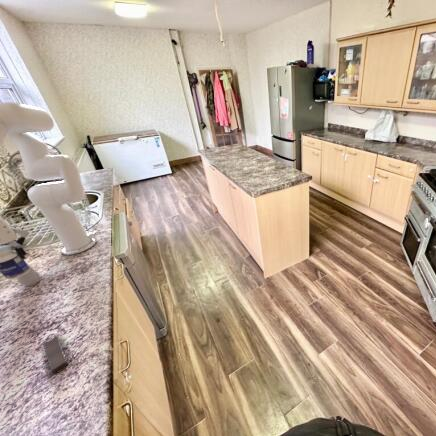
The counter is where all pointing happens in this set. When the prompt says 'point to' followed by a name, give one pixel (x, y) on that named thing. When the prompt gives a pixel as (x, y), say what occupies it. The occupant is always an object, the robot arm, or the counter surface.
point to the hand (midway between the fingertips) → (9, 262)
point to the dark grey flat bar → (55, 354)
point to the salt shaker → (29, 277)
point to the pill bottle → (12, 263)
